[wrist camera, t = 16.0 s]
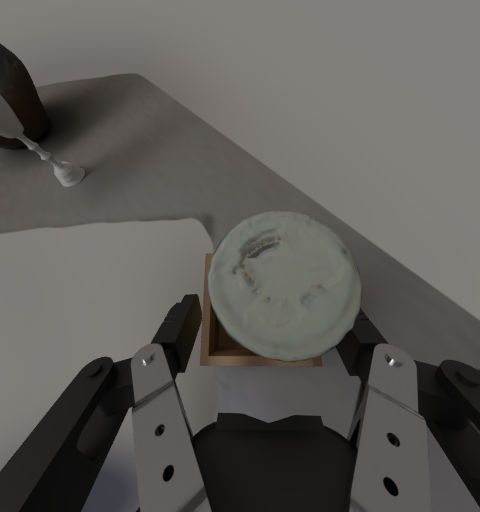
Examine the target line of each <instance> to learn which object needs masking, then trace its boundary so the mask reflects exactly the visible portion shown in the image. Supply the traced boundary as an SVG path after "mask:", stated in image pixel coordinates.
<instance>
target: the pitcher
mask: <svg viewBox="0 0 480 512" xmlns="http://www.w3.org/2000/svg"><path fill="white" fill-rule="evenodd" d="M0 95H1V96H2V97H3V99H4V100H5V101H6V102H7V104H8V105H9V106H10V108H11V109H12V111H13V112H14V114H15V115H16V117H17V118H18V120H19V121H20V123H21V125H22V126H23V128H24V130H23V133H22V134H23V135H24V136H25V137H26V138H28V139H29V140H31V141H34V140H36V139H38V138H39V137H41V136H42V135H43V134H44V133H45V132H46V130H47V129H48V127H49V124H50V119H49V117H48V116H47V113H46V111H45V109H44V107H43V105H42V103H41V101H40V99H39V96H38V94H37V91H36V88H35V86H34V84H33V81H32V79H31V77H30V75H29V73H28V71H27V69H26V67H25V66H24V64H23V63H22V62H21V61H20V60H19V59H18V58H17V57H16V56H15V54H13V53H12V52H10V51H9V50H8V49H7V48H5V47H4V46H3V45H1V44H0ZM24 146H26V144H25V143H24V142H23V141H21V140H19V139H18V138H6V137H4V136H1V135H0V148H4V149H15V148H20V147H24Z"/></svg>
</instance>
